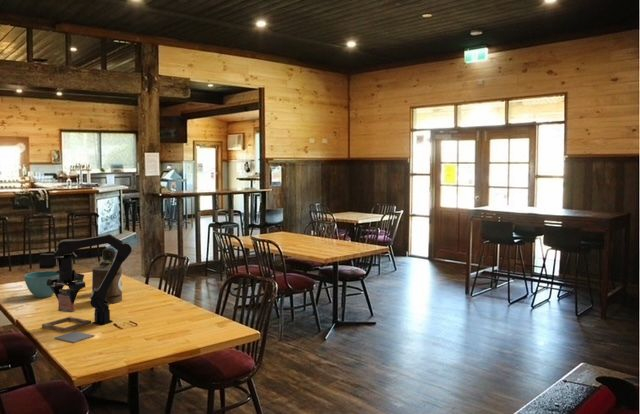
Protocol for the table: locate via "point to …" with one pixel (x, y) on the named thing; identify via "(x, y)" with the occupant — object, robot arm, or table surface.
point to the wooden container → (116, 286)
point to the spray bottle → (108, 255)
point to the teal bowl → (40, 283)
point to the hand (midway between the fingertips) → (66, 302)
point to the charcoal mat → (74, 337)
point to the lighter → (65, 302)
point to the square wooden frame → (81, 321)
